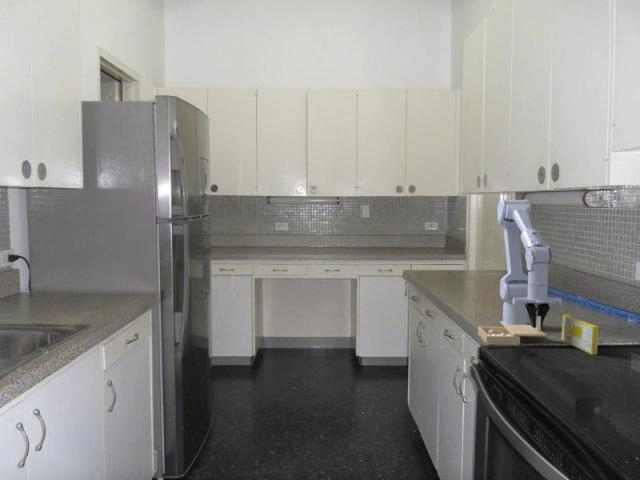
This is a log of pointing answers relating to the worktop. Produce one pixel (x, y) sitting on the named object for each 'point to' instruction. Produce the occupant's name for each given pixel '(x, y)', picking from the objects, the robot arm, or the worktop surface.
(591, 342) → the candy box
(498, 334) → the beige shallow box
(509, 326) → the lid
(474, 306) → the worktop surface
